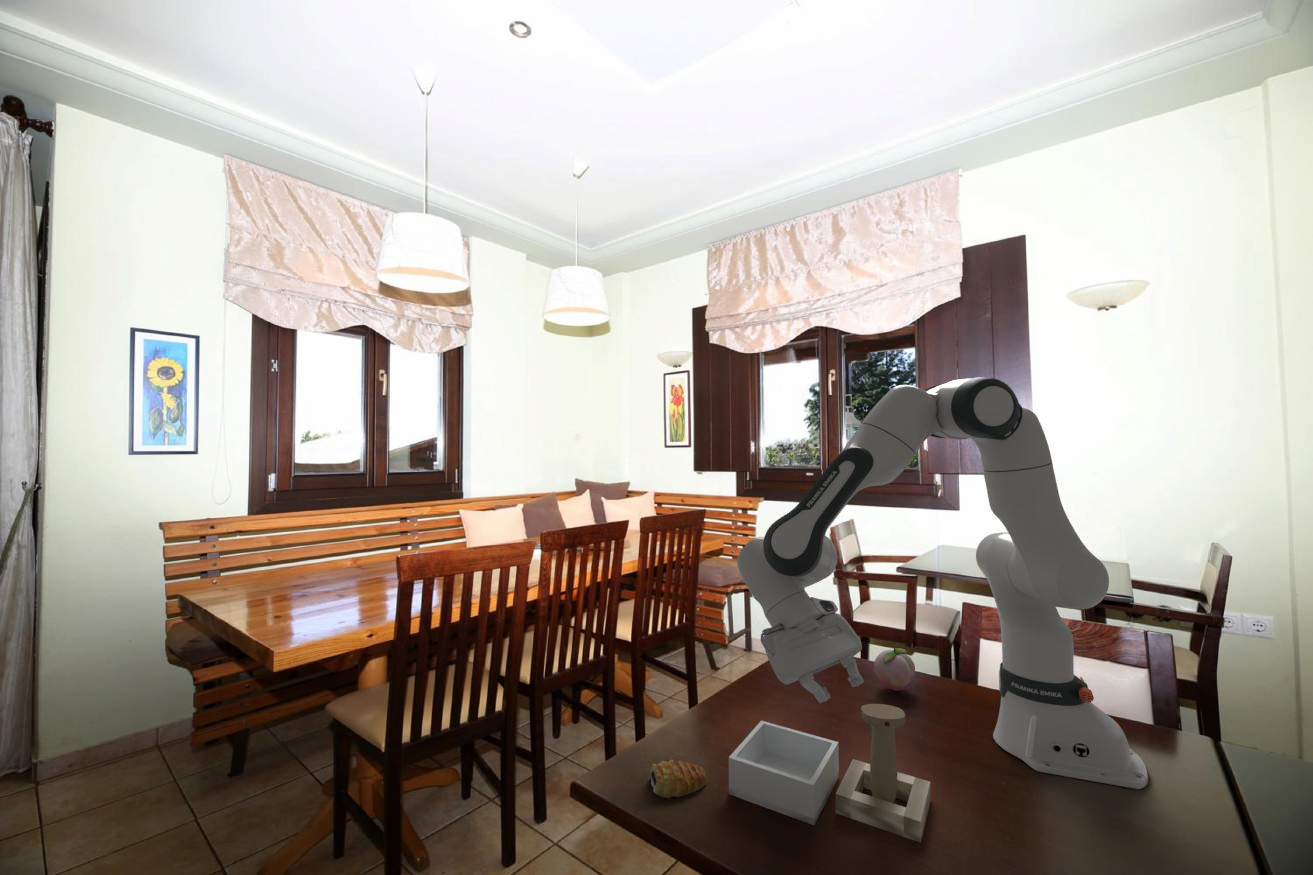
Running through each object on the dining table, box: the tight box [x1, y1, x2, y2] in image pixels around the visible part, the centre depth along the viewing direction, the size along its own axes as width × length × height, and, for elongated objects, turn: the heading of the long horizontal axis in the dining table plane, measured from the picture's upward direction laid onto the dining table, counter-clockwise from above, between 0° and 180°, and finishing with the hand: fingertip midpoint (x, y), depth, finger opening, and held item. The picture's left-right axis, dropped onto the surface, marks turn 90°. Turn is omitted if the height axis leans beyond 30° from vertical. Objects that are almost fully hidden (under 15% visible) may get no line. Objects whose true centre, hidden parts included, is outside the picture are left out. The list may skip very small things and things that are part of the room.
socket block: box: [835, 758, 932, 844], centre depth 88 cm, size 12×11×3 cm
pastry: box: [649, 759, 707, 799], centre depth 94 cm, size 9×7×4 cm
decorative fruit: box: [873, 646, 916, 692], centre depth 128 cm, size 9×8×10 cm
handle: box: [860, 703, 906, 804], centre depth 88 cm, size 5×6×15 cm
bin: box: [728, 720, 840, 826], centre depth 93 cm, size 14×14×6 cm
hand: (842, 692), depth 93 cm, fingers open, 8 cm apart
